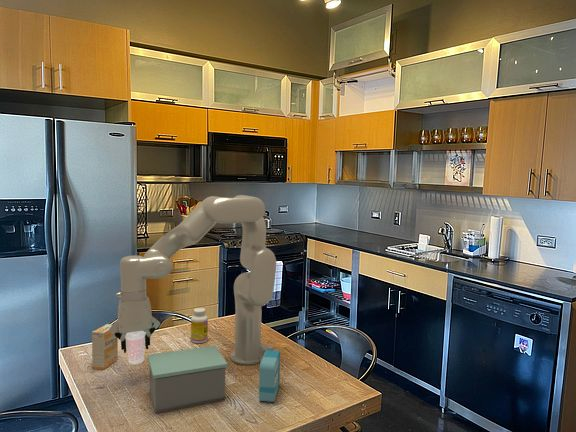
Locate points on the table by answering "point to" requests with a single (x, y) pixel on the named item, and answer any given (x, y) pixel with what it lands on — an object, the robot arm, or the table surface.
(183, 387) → the storage box
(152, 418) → the table surface
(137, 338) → the beverage cup
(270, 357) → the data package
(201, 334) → the supplement bottle
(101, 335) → the supplement box
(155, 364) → the lid
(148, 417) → the table surface
